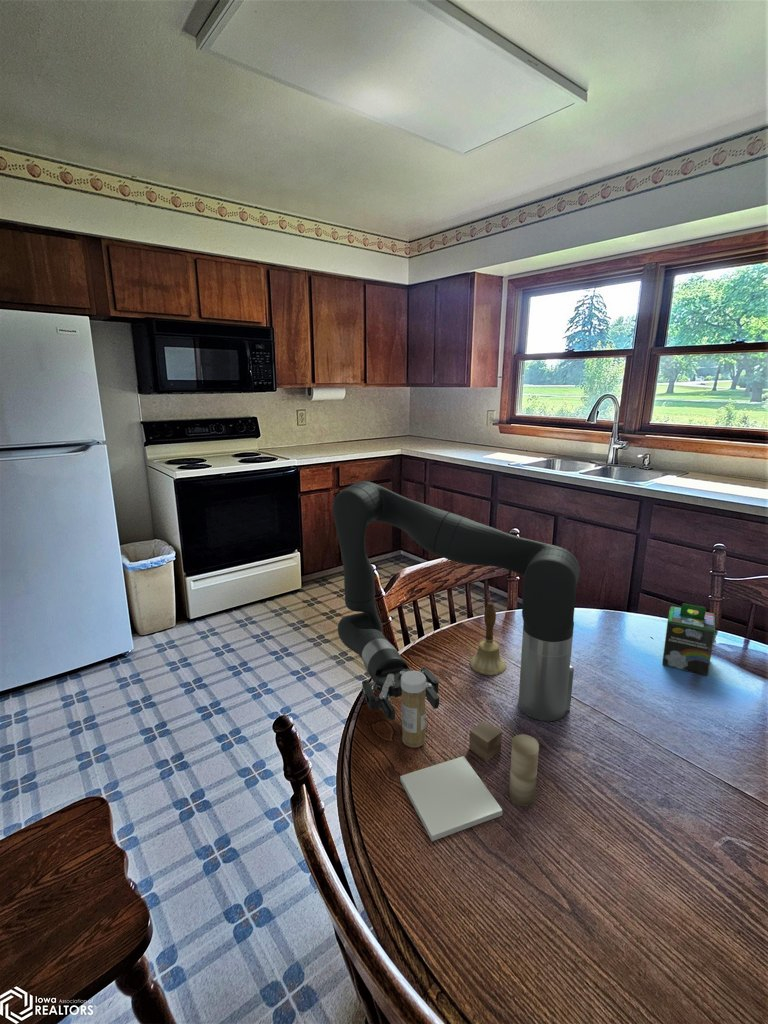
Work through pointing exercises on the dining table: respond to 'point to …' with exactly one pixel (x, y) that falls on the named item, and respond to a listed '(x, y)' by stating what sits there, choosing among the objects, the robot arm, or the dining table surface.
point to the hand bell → (488, 648)
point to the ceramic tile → (449, 797)
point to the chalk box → (689, 638)
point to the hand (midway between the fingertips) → (415, 710)
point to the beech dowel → (523, 769)
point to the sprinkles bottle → (413, 708)
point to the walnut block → (485, 740)
